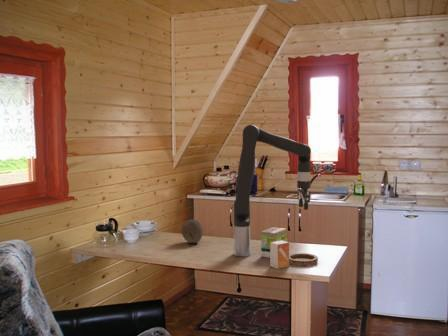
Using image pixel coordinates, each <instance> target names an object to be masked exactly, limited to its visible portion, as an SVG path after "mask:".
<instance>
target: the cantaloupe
mask: <svg viewBox="0 0 448 336" xmlns="http://www.w3.org/2000/svg"><path fill="white" fill-rule="evenodd" d="M181 226H182V227H181V234H182V237H183V239H184V241H186V242H187V243H189V244H198V243H200V241H201V240H202V237H203V233H204V229H203V226H202V224H201V222H200V221H199V220H196V219H189V220H186V221H185V222H183V224H182V225H181Z"/></svg>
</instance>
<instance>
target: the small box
mask: <svg viewBox="0 0 448 336" xmlns="http://www.w3.org/2000/svg"><path fill="white" fill-rule="evenodd" d="M289 255H290V242H289V241H287V242H286V241H283V240H281V241H275V242H270V262H269V263H270V264H269V266H270V267H271V268H274V269H277V270H278V269H279V270H280V269H282V268H287V267H290V264H289Z"/></svg>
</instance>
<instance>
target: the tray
mask: <svg viewBox="0 0 448 336" xmlns="http://www.w3.org/2000/svg"><path fill="white" fill-rule="evenodd" d="M318 259H319V257H318V256H317V255H315V254H312V253H307V252H306V253H305V252H300V253H299V252H297V253H290V254H289V265H291V266H296V267H312V266H316V265H317V264H318Z"/></svg>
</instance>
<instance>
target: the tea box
mask: <svg viewBox="0 0 448 336" xmlns="http://www.w3.org/2000/svg"><path fill="white" fill-rule="evenodd" d="M260 235H261V237H260V241H261V242H260V249H261V250H260V257H262V258H267V259H268V258H270V242H275V241H281V240H283V241H286V242H288V228H285V227H284V228H283V227H276V226H275V227H274V226H272V227H270V228H267V229H264V230H262V231H261V234H260Z"/></svg>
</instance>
